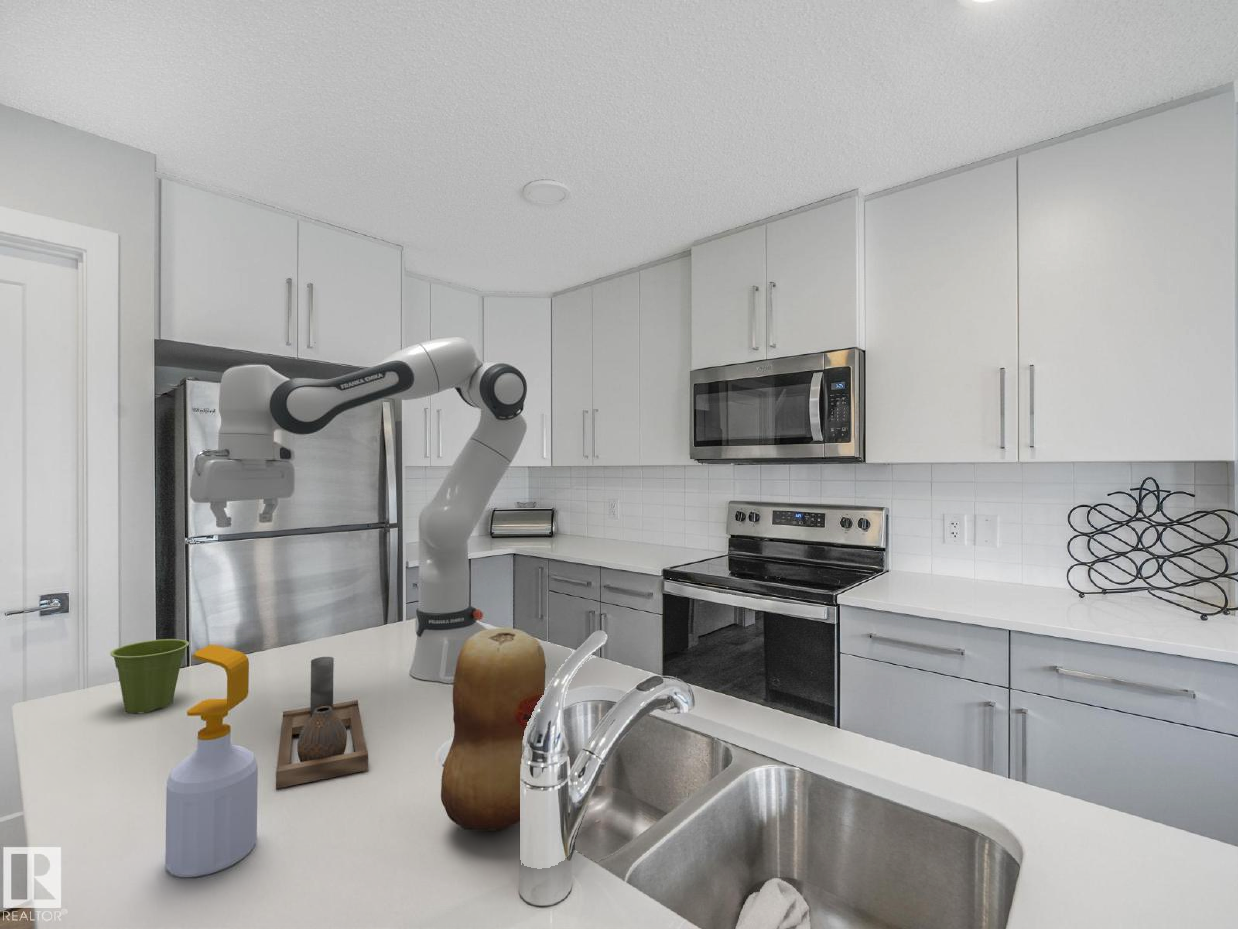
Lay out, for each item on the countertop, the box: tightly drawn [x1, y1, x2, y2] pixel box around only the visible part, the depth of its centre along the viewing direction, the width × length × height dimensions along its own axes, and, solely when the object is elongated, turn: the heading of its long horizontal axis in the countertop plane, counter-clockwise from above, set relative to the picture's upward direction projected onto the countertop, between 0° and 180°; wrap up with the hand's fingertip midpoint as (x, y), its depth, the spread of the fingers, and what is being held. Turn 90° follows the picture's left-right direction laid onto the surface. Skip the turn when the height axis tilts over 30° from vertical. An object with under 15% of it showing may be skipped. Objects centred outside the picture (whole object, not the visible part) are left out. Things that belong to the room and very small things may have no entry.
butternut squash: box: [440, 626, 547, 832], centre depth 79 cm, size 14×13×25 cm
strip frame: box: [275, 656, 369, 790], centre depth 99 cm, size 12×23×12 cm, turn 27°
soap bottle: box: [164, 644, 259, 878], centre depth 72 cm, size 9×9×25 cm
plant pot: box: [109, 638, 190, 714], centre depth 114 cm, size 12×12×11 cm
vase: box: [296, 706, 348, 763], centre depth 93 cm, size 7×7×9 cm
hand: (245, 524), depth 112 cm, fingers open, 8 cm apart
